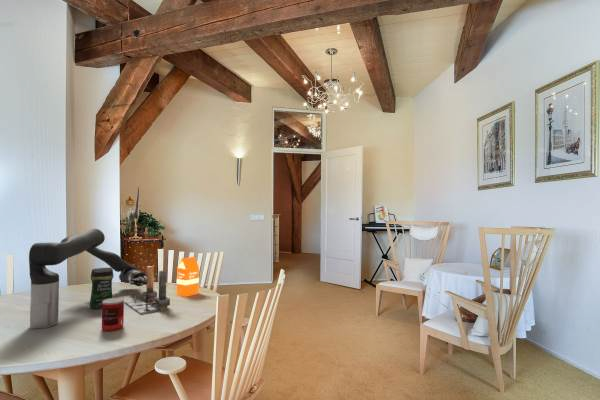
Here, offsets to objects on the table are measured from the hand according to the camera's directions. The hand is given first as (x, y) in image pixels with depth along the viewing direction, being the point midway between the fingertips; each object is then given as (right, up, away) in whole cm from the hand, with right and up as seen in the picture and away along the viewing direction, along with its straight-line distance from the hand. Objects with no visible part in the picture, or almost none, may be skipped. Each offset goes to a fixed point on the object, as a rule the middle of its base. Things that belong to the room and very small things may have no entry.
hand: (148, 283), depth 177 cm
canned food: (+4, -8, -40) cm, 41 cm away
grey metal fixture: (+3, -9, -10) cm, 13 cm away
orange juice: (+16, -9, +14) cm, 23 cm away
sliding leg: (0, -8, -3) cm, 8 cm away
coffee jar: (-18, -9, -11) cm, 23 cm away
